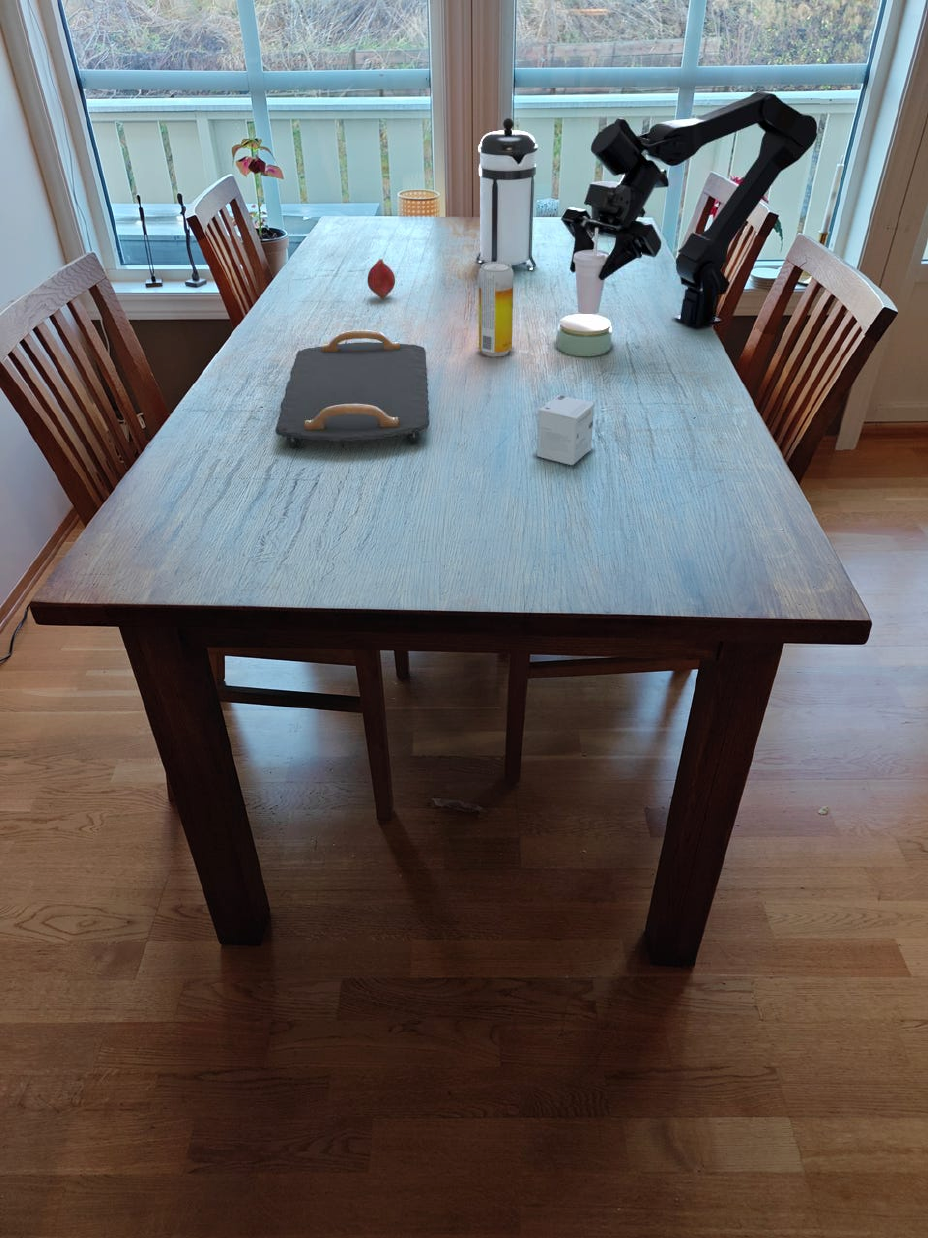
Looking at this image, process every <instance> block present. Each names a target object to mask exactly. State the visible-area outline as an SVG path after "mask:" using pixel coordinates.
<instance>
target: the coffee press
mask: <svg viewBox="0 0 928 1238" xmlns="http://www.w3.org/2000/svg"><path fill="white" fill-rule="evenodd" d="M514 125H515V123H514V121H513V119H512V118H510V117H507V118H505V119H504V120H503V123H502V127H503V128H504V130H497V131H492V132H489V133H486V134H485V135H484V136H483V137H482V139H481V141H480V144H479V145H478V146H477V147H478V148H477V149H478V153H479V165H478V166H479V167H478V175H479V189H480V190H479V217H480V218H479V238H480V239H479V248H480V249H479V250H480V251H479V254H478V255H477V257H476V258H475V259H476V262H477V263H478V264H481V263H483V262H485V263H489V262H504V263H508V264H510V265H511V266H516V265H524V266H525V267H526V268H527V269H528V270H529V271H532V270H534V269H536V268H537V263H536V261H535V260H534V257H533V236H534V235H533V234H534V233H533V231H534V230H533V229H534V205H535V204H534V203H535V176H536V174H537V164H536V153H537V151H538V148H539V147H538V144H537V143H536V140H535V137H534V136H533V135H531V134H530V133H528V132H525V131H521V130H512V129H513V128H514ZM480 258H481V259H482V260H481V259H480ZM528 261H529V262H530V263H531V265H532V266H531V265H530V263H528Z"/></svg>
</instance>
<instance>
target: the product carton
mask: <svg viewBox="0 0 928 1238" xmlns="http://www.w3.org/2000/svg"><path fill="white" fill-rule="evenodd" d="M594 415H595V402H594V403H593V402H592V401H588V400H582V399H578V398H573V397H569V396H565V395H560V394H558V395H557V396H555V397H553V398H552V399H551V400H549V401H547V402H546V403H545V404H544V405H543V406H541V407H540V408H539V409H538V415H537V416H538V417H537V418H538V419H537V434H536V435H537V438H536V457H539V458H542V459H545V460H550V461H553V462H557V463H561V464H564V465H568V466H574V465H575V464H576V463H578V461H579V460H580V459H581V458H583V457H584V456H585V455H586V454H588V453H589V452H590V451H591V449H592V439H593V426H594Z"/></svg>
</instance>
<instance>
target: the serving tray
mask: <svg viewBox="0 0 928 1238" xmlns="http://www.w3.org/2000/svg"><path fill="white" fill-rule="evenodd" d="M359 339H360V340H361V339H365V340H366V339H369V340H375V341H379V342H373V341H372V342H370V341H365V342H362V341H361V342H359V341H358V342H347V343H342V342H345V341H349V340H359ZM426 351H427V350H426V349H425V347H423V346H420V345H417V344H407V343H400V341H397V342H396V341H392V340H391V339H390V338H389V337H388V336H386V335H385V334H384V333H382V332H380V331H376V330H368V329H365V330H364V329H356V330H348V331H343V332H340V333H338V334H337V335H335V336H334V337H333V338H332V339H331V340H330V342H328V343H327V344H321V346H315V347H307V348H305V349H302V350H298V351H297V353H296V354H295V358H294V362H293V365H292V367H291V370H290V371H289V372H290V373H289V374H290V377H289V380H288V381H287V384H286V385H285V389H284V391H285V392H284V397H283V398H282V401H281V402H280V412H279V416H278V419H277V422H276V426H275V433H276V435H277V436H282V437H285V444H286V445H287V446H288V448H289V449H297V448H298V447H299V445H300V443H301V440H304V441H305V440H306V441H315V442H317V441H318V442H335V443H337V442H339V443H340V442H364V441H373V440H374V441H376V440H381V439H390V438H395V437H402V436H406V439H407V441H408V442H409V444H411V445H416V444H419V442H420V440H421V439H422V438H421V437H422V434H421V432H423V431H426V430H428V429H429V426H430V418H429V417H430V412H429V411H430V409H429V404H430V402H429V399H428V398H429V395H428V394H429V390H428V387H429V386H428V385H429V383H428V368H427V357H426V356H427V352H426Z"/></svg>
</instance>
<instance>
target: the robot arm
mask: <svg viewBox="0 0 928 1238" xmlns="http://www.w3.org/2000/svg"><path fill="white" fill-rule="evenodd" d="M754 125H757V126H758V127H759V129H761V130H762V131H764V134H763V136H762V137H761V141H760V147H759V151H758V156H757V158H756V159H755V161H754V162H753V164H752V165H751V166H750V168H749V169H748V171H747V172H746V174H745V175H744V177H743V178H742V179H741V181H740V182H739V184H738V185H737V186H736V188H735V189H734V191H733V193H732V194H731V195H730V197H729V199H728V200H727V201H726V203H724V205H723V207H722V208H721V210H720V211H719V213H718V214H717V215H716V217H714V220H713V221H712V223H710V225H709V227H708V228H707V229H706V230H705V231H704V232H702V233H700V234H698V233H695V232H691V233H690V234H689V236H688V237H687V239H686V241H685V243H684V245H682V246H681V247H680V248H679V249H678V250H677V253H679V254H678V255H677V258H676V260H675V270H676V273H677V275H678V276H679V279H680V284H681V285H682V286H685V287H687V288H686V289H684V295H683V296H684V297H683V298H682V301H681V302H682V304H681V310H680V315H677V316H675V318H674V320H676V321H678V322H679V323H683V324H684V325H688V326H690V327H693V328H695V329H701V328H705V327H709V326H712V325H716V324H720V323H721V322H722V319H721V318H719V317H716V315H717V310H718V306H719V305H718V304H719V299H720V295H721V296H722V295H726V293H727V291H728V289H729V287H730V284H731V282H730V281H729V279H727V277H726V276H725V274H724V273H723V272H722V269H723V268H724V266H725V264H726V262H727V258H728V251H729V248H730V247H729V246H730V244H731V243H732V241H733V240H734V239H735V237H736V236H737V235H738V233H739V232H740V230H741V229H742V228H743V226H744V225H745V223H746V222H747V220H748V219H749V217H750V216H751V215H752V213H753V212H754V211H755V209H756V207H757V206H758V205H759V204H760V202H761V201H762V199H763V198H764V196H765V195H766V193H767V192H768V191H769V189H770V188H771V187H772V185H773V183H774V182H775V181H776V179H777V178H778V177H779V175H780V174H781V173H782V172H783V171H784V170H786V169H787V168H789V167H790V166H792V165H794V164H795V163H796V162H798V161H799V160H801V158H802V157H803V156H804V155H805V154H806V152H808V150H809V149H810V148H811V147H812V146H813V145H814V143H815V141H816V139H817V137H818V133H817V132H818V124H817V121H816V119H815V117H813V116H812V115H809V114H804V113H801V111H798V110H796V109H795V108H793V107H792V106H790V105H789V104H787V103H786V102H783V100H781V98H779V97H778V96H777V95H776V94H774V93H771V92H766V91H761V90H759V91H754V92H753V93H752V94H750V95H749V96H747V97H744V98H741V99H738V100H736V101H733V102H731V103H728V104H726V105H724V106H721V107H718V108H716V109H714V110H712V111H709V112H706V113H704V114H701V115H699V116H697V117H693V118H687V119H685V118H684V119H673V120H667V121H662V122H658V123H655V124H654V125H652V126H651V127H650V128H649V130H648V131H647V132H644V133H642V134H638V135H636V133H635V132H634V131H633V130H632V129H631V126H630V124H629V123H628V121H626V119H625V118H622V117H617V118H616V119H615V121H614V122H613V123H611V124H608V125H607V126H606V127H604V128H602V130H601V131H599V132H598V133H597V134H596V135H595V137H594V139H593V141H592V143H591V145H590V152H591V153H592V155H594V157H596V159H597V160H598V161H599V162H600V163H601V164H602V166H603V167H604V168H605V169H606V170H607V171H608V172H609V174H611V176H613V177H617V176H622V178H621V179H620V180H619V182H618V183H619V184H618V185H617V187H616V188H615V187H611V188H610V187H606V186H601V185H596V184H591V183H589V185H588V189H587V192H586V194H585V198H584V200H583V204H584V205H585V206H589V207H591V206H592V207H594V208H595V210H594V214H595V215H596V216H598V217H599V220H598V221H595V220H592V216H591V215H590V214H589V212H588V211H587V209H584V208H577V207H573V206H571V207H567V208H566V209H565V210H564V213H563V214H562V217H561V218H560V220H561V222H562V223H563V225H564V226H565V227H566V229H567V230H568V231H569V233H570V234H571V236H572V237H573V238H574V244H573V251H572V256H571V261H570V266H569V270H570V272H571V273H572V274H573V273H576V271H575V263H574V262H573V259H574V254H575V253H576V252H579V251H583V250H594V239H593V238H595V228H598V235H602V236H606V237H610V238H615V240H614V246H613V248H612V250H611V252H610V253H609V254H610V255H609V257H608V259H607V261H606V262H605V264H604V266H603V268H602V270H601V272H600V274H599V279H600V280H604V279H605V280H606V279H607V278H609V277H610V276H611V275H613V274H614V273H615V272H617V271H618V270H620V269H621V268H623V267H624V266H627V265H628V264H630V263H631V262H633V261H634V260H636V259H642V257H643V256H646V257H651V258H656V257H657V255H658V254H659V252H660V250H661V248H662V239H661V237H660V236H659V234H658V232H657V230H656V229H655V227H654V225H653V223H649V222H646V221H645V222H644V221H640V220H637V219H638V217H639V218H644V216H645V215H646V210H645V208H644V207H645V205H646V204H647V202H648V200H649V198H650V196H651V195H652V194H653V192H654V190H655V189H661V188H668V187H669V185H670V184H669V183H670V181H669V178H668V175H667V172H668V171H667V170H666V169H661V168H660V167H659V166H658V165H657V164H656V162H658V163H661V164H664V165H666V166H669V167H675V166H679V165H680V164H682V163H684V162H685V161H687V160H689V159H690V158H692V157H693V156H695V155H696V154H697V152H699V150H700V149H701V148H702V147H704V146H706V145H707V144H709V143H711V142H714V141H717V140H719V139H723V138H724V137H727V136H729V135H731V134H734V133H736V132H739V131H741V130H744V129H746V128H749V127H751V126H754ZM644 155H646V156H647V157H648V158H650V159H647V158H646V157H645V156H644Z"/></svg>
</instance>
